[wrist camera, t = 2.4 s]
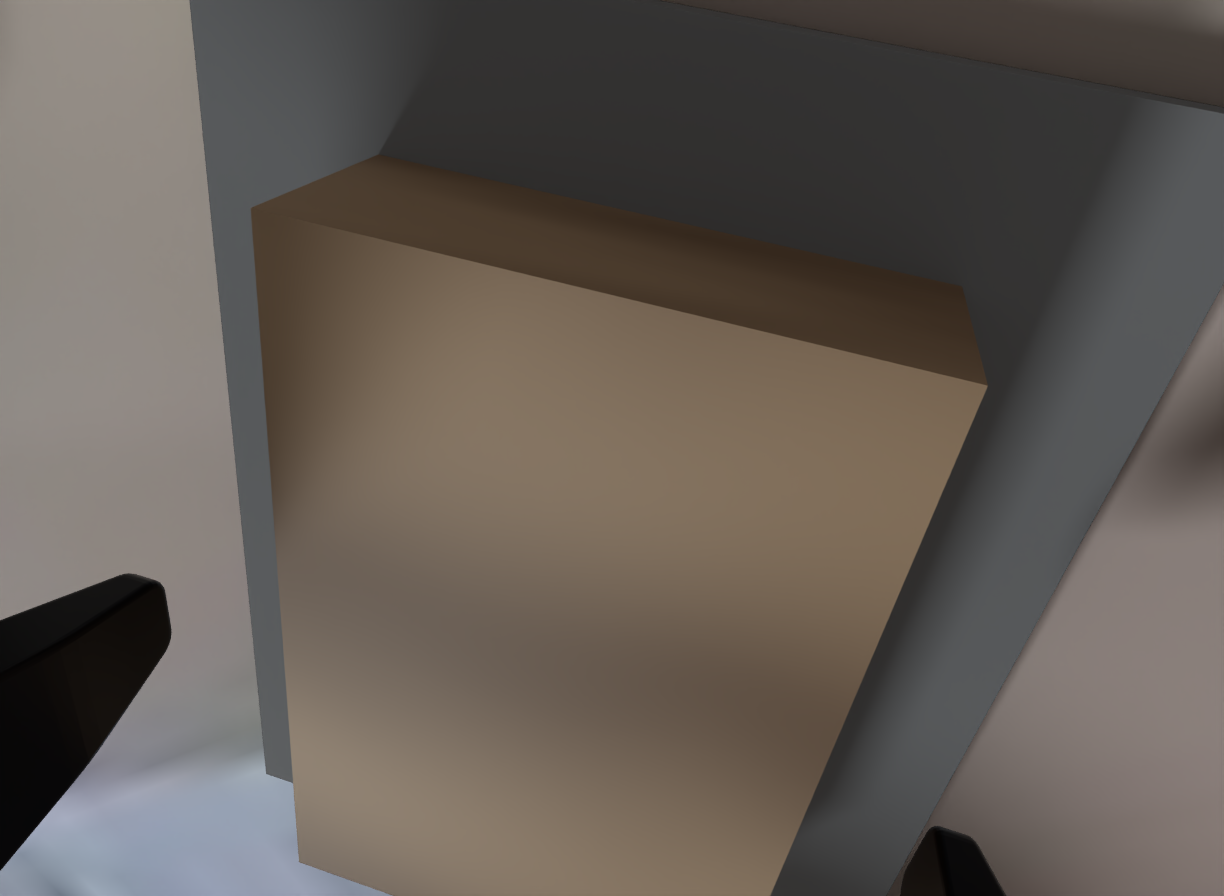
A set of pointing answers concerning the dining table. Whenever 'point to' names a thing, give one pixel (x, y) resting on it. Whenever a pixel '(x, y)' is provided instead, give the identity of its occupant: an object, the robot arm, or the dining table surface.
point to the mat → (788, 216)
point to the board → (581, 527)
